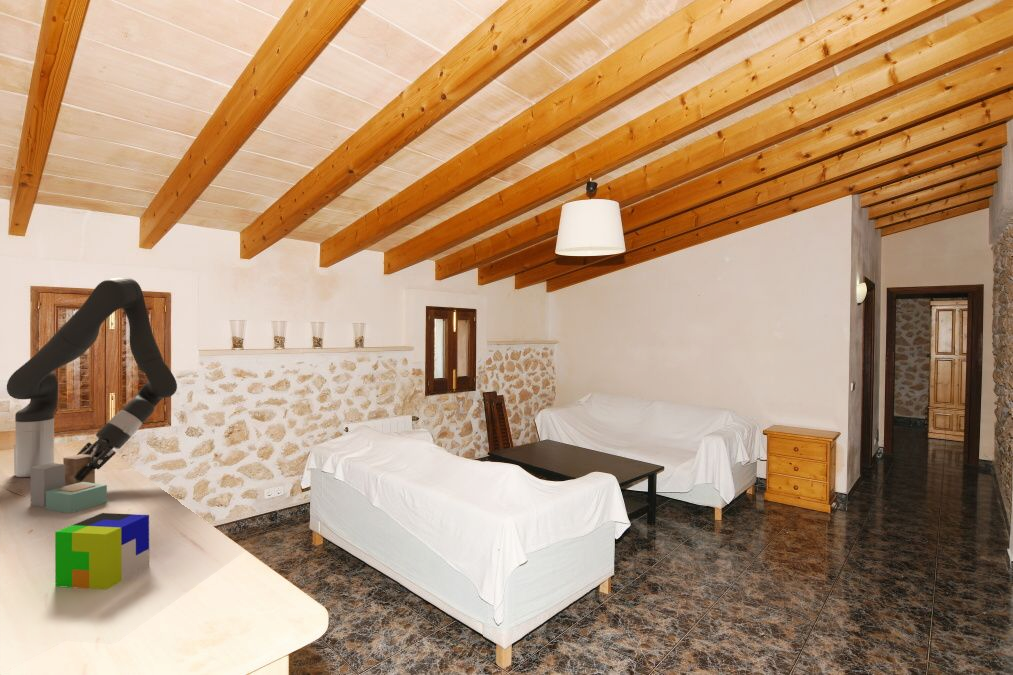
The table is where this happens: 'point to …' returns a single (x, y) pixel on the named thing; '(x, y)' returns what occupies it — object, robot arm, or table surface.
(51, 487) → the slate-grey block
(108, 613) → the table surface
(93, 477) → the walnut block
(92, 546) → the puzzle toy
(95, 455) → the robot arm
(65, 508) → the teal base block
